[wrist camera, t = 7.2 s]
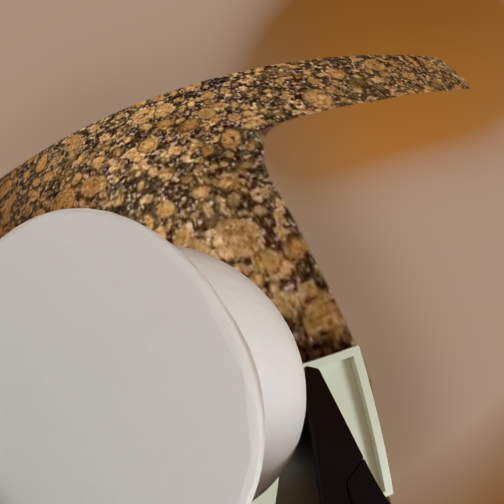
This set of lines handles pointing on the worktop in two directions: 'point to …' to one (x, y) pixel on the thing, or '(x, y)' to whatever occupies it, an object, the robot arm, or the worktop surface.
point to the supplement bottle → (138, 369)
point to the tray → (351, 413)
